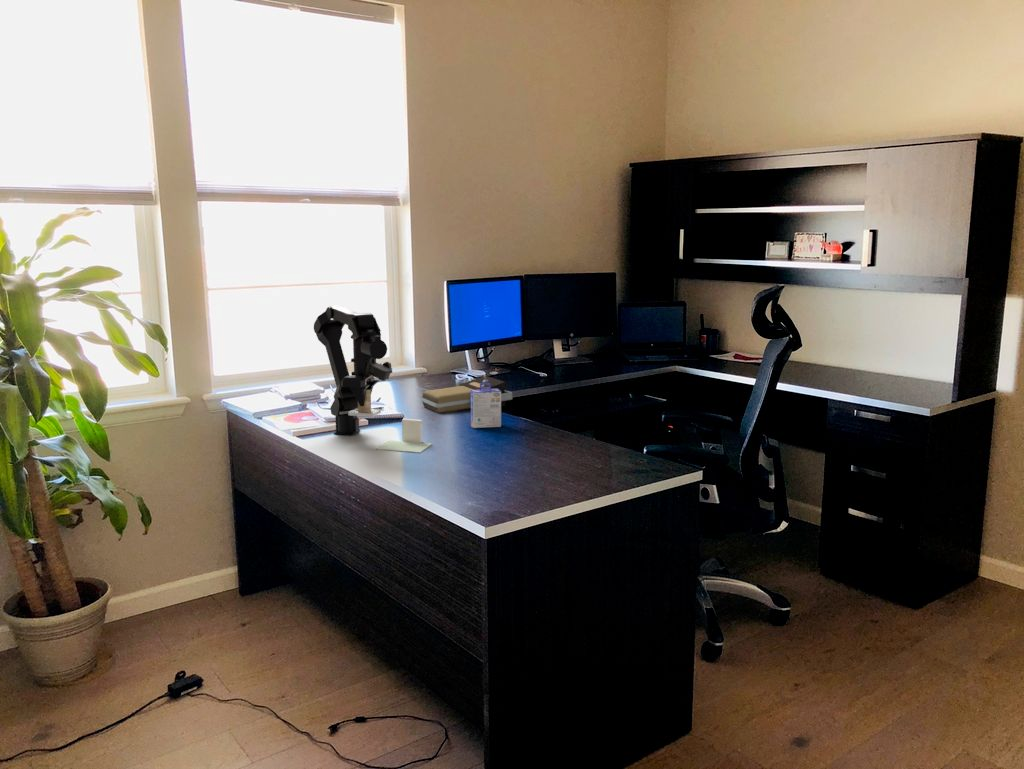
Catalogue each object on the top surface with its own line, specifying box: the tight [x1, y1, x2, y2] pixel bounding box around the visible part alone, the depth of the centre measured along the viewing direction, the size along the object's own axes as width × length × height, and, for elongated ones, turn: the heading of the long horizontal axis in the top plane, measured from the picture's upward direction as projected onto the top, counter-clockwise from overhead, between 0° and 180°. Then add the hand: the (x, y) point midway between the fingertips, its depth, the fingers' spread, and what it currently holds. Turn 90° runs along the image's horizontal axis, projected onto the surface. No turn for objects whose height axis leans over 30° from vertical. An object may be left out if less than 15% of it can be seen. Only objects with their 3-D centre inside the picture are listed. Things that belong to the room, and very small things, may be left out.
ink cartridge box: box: [470, 383, 502, 429], centre depth 280 cm, size 10×6×14 cm, turn 103°
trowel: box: [348, 389, 382, 418], centre depth 258 cm, size 8×6×8 cm
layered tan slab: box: [421, 374, 513, 414], centre depth 311 cm, size 19×11×30 cm
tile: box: [401, 418, 423, 443], centre depth 260 cm, size 6×2×7 cm, turn 75°
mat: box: [376, 439, 433, 454], centre depth 255 cm, size 14×10×1 cm
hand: (364, 405), depth 259 cm, fingers closed on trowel, 3 cm apart
